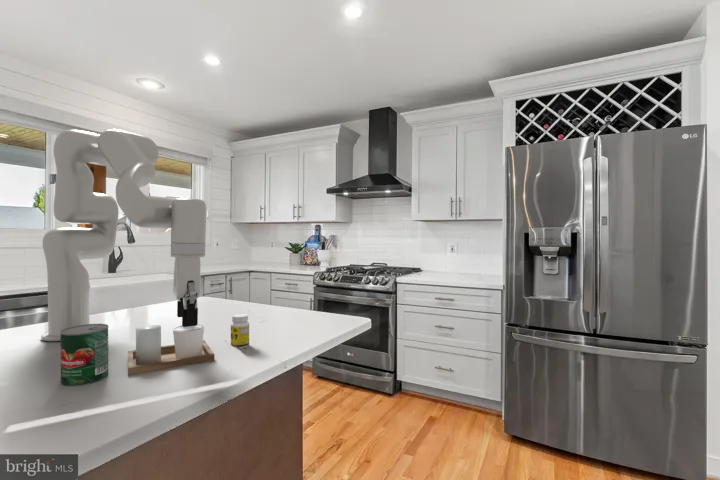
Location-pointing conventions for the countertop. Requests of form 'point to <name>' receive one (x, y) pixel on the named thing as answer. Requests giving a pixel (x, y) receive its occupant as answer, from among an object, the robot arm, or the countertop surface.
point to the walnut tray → (168, 360)
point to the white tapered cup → (188, 341)
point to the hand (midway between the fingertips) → (186, 321)
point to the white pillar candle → (148, 344)
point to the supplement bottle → (240, 331)
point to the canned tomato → (84, 354)
